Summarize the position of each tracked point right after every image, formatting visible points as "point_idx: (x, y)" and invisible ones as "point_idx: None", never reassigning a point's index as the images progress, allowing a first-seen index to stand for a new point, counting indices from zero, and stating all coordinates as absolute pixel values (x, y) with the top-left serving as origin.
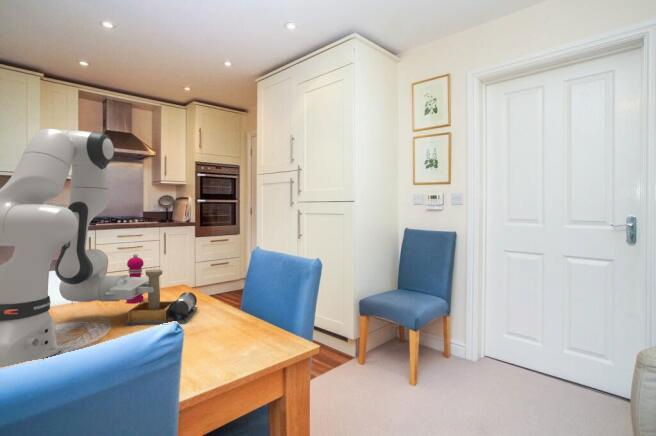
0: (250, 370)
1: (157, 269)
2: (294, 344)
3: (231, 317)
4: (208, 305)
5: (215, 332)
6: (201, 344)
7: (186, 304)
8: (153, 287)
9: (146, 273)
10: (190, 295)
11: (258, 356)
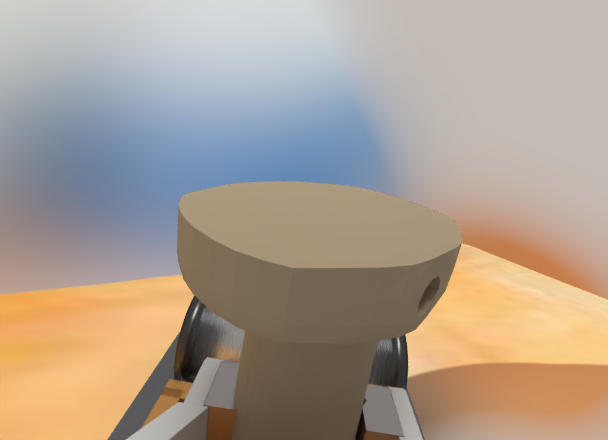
0: (591, 295)
1: (226, 185)
2: (463, 251)
3: None
4: (135, 309)
5: (453, 314)
6: (549, 340)
7: None
8: (390, 387)
9: (419, 297)
10: None
11: (535, 282)
